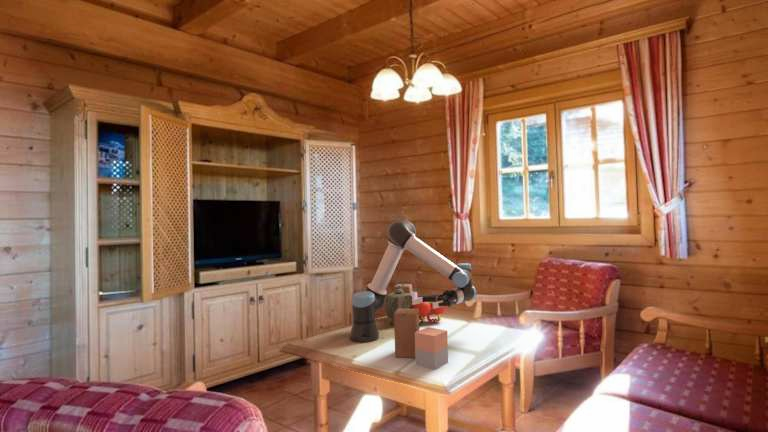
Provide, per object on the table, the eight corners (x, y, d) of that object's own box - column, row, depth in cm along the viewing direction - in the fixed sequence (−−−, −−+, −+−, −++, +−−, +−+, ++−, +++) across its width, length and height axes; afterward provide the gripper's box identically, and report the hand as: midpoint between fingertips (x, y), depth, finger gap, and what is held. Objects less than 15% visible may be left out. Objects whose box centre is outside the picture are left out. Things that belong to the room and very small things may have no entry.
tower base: (415, 364, 191) (415, 348, 191) (428, 358, 198) (428, 342, 198) (435, 369, 184) (434, 352, 184) (448, 362, 192) (447, 346, 192)
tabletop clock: (404, 320, 268) (403, 278, 268) (415, 322, 261) (413, 280, 261) (386, 324, 259) (384, 281, 258) (396, 327, 252) (395, 283, 251)
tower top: (415, 348, 191) (414, 332, 190) (428, 342, 198) (427, 327, 198) (434, 352, 184) (434, 336, 184) (447, 346, 192) (447, 330, 192)
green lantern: (394, 319, 271) (393, 286, 271) (397, 315, 281) (396, 283, 281) (410, 319, 269) (409, 286, 269) (413, 315, 279) (412, 283, 279)
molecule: (435, 317, 272) (440, 293, 269) (446, 325, 263) (451, 301, 260) (400, 320, 260) (404, 295, 257) (409, 329, 251) (414, 303, 248)
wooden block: (417, 358, 199) (415, 313, 199) (394, 357, 201) (393, 313, 201) (419, 351, 209) (418, 308, 208) (398, 350, 211) (397, 308, 210)
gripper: (472, 307, 215) (442, 315, 201) (434, 301, 234) (404, 308, 220) (472, 292, 215) (442, 299, 201) (434, 286, 234) (404, 292, 220)
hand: (422, 303), depth 211 cm, fingers open, 13 cm apart
